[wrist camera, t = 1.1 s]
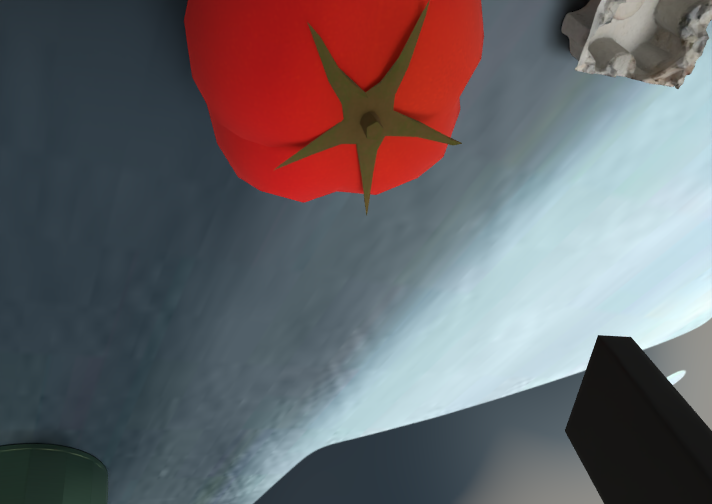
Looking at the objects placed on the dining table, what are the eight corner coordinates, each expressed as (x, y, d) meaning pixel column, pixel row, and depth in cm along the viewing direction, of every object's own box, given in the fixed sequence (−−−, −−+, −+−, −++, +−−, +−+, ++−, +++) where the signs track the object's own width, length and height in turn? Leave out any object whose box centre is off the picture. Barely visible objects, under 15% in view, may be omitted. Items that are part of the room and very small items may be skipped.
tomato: (119, 14, 26) (104, 187, 17) (294, -239, 22) (400, -188, 13) (305, 142, 33) (364, 311, 24) (465, -28, 29) (612, 101, 20)
